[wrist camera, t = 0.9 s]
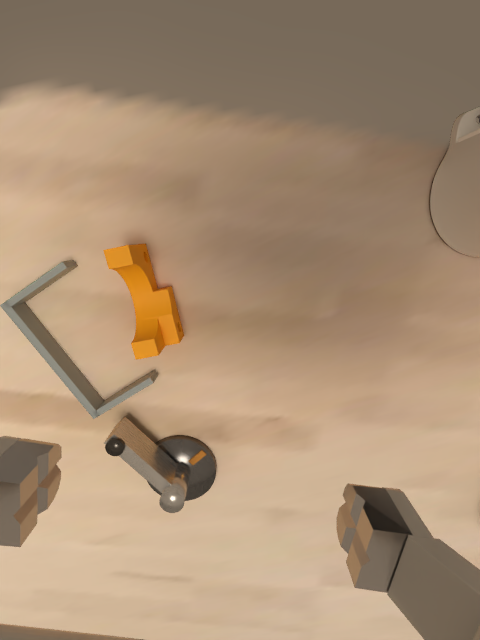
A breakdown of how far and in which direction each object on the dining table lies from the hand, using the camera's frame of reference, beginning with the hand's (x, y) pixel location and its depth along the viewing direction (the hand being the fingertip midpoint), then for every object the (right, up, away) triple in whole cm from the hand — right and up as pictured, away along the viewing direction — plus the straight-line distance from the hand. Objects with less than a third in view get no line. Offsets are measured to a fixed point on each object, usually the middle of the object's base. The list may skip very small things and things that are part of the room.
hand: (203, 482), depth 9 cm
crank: (-10, -13, +35) cm, 39 cm away
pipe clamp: (-9, +8, +31) cm, 34 cm away
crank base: (-7, -16, +37) cm, 41 cm away
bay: (-18, +2, +33) cm, 37 cm away
